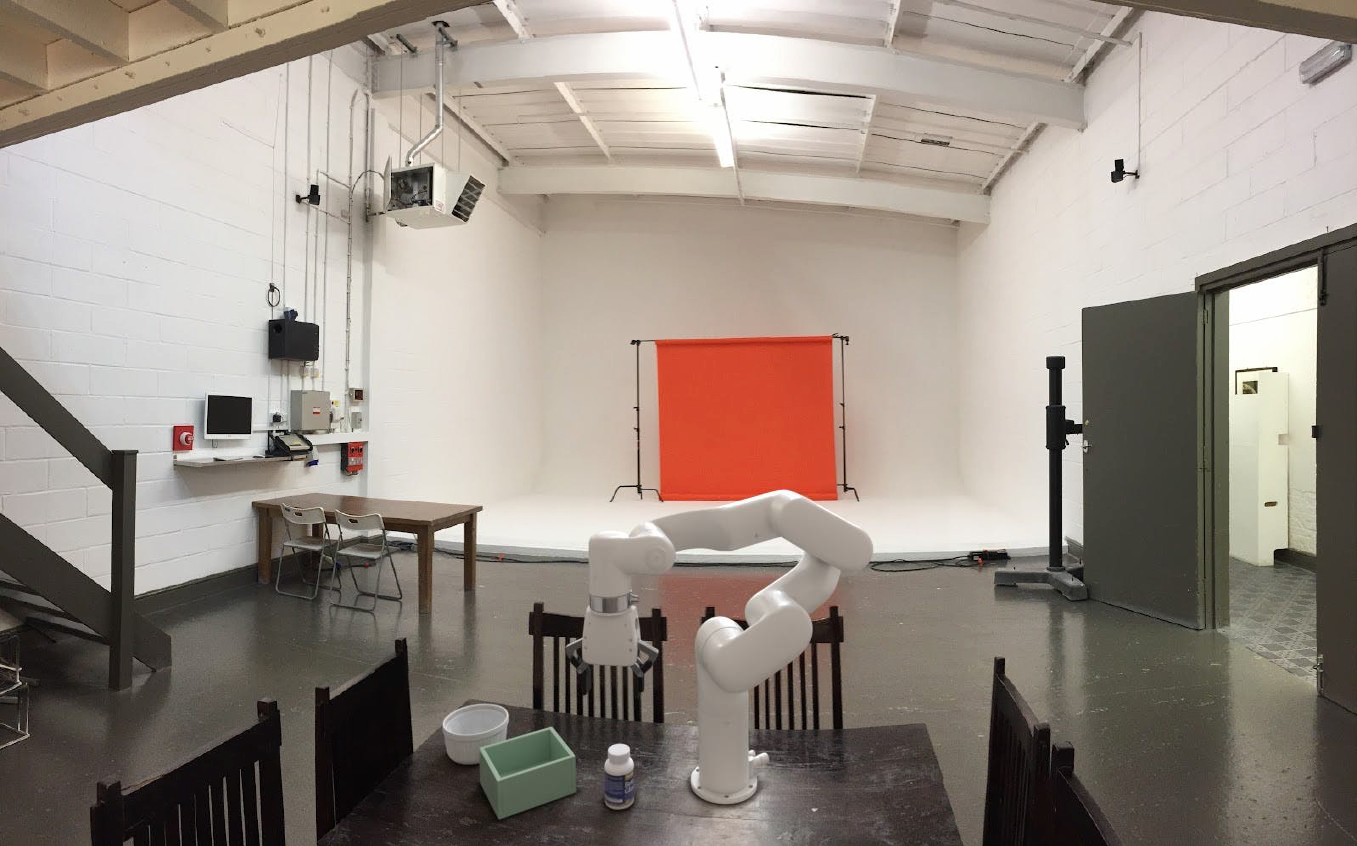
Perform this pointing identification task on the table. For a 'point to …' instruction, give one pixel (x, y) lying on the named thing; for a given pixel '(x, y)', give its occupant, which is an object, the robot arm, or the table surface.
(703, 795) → the robot arm
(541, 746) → the green open box
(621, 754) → the pill bottle
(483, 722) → the ramekin
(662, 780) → the table surface
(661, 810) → the table surface
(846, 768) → the table surface
